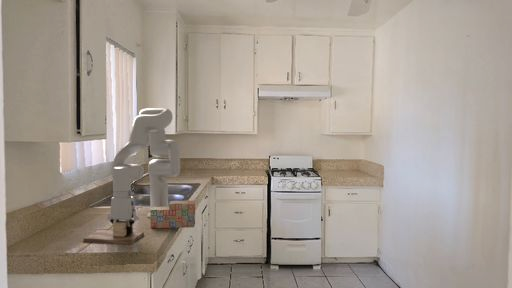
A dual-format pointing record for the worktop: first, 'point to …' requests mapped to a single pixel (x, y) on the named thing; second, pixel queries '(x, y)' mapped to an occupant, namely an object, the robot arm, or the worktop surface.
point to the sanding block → (120, 228)
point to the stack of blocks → (174, 215)
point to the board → (107, 237)
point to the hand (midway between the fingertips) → (123, 233)
